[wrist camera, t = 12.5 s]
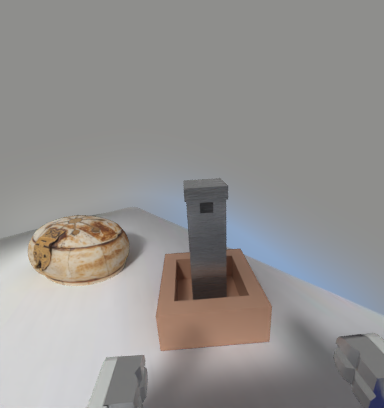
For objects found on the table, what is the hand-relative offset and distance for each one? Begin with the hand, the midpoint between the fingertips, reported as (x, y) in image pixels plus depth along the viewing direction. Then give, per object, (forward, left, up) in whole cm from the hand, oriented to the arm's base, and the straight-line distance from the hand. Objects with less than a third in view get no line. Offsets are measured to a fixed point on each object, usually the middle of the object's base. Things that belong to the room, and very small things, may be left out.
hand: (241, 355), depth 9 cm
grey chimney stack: (0, +13, -8) cm, 15 cm away
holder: (0, +13, -9) cm, 16 cm away
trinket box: (-19, +23, -10) cm, 32 cm away
